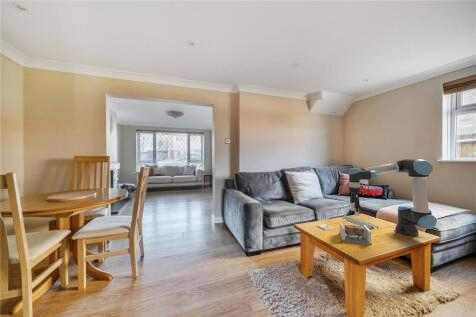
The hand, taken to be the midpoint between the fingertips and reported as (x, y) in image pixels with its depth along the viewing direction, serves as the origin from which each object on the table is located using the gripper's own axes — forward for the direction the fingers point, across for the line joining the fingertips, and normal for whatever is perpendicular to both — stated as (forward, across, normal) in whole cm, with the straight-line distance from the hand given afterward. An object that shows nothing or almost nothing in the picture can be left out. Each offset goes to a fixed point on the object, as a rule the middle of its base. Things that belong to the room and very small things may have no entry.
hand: (354, 213), depth 149 cm
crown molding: (+22, -42, +13) cm, 49 cm away
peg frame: (+21, 0, 0) cm, 21 cm away
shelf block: (+17, 0, -1) cm, 17 cm away
